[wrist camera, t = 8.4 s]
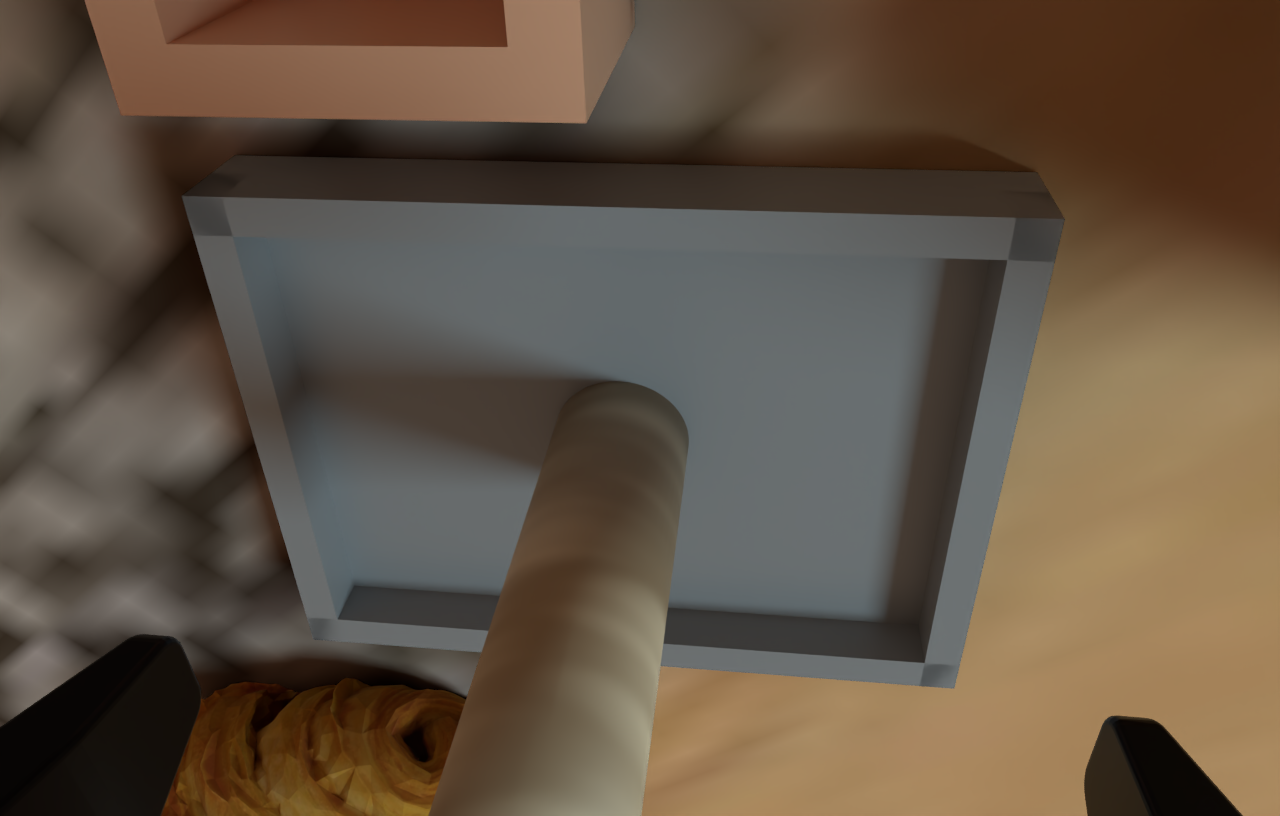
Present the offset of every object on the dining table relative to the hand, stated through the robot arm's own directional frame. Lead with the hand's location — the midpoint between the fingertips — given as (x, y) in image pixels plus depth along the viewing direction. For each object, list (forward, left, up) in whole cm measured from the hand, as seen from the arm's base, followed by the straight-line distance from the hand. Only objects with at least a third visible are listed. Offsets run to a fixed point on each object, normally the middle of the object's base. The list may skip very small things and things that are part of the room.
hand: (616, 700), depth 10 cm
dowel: (+2, +5, -11) cm, 13 cm away
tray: (+2, +5, -12) cm, 14 cm away
